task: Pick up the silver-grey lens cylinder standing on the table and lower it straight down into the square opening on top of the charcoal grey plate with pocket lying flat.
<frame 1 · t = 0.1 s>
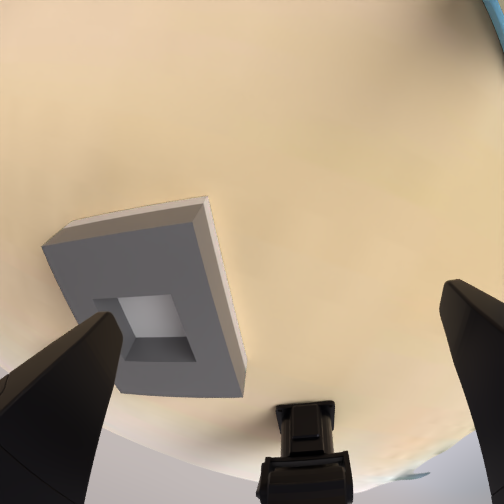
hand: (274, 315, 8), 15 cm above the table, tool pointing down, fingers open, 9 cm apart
grey plate with pocket: (161, 296, 27), on the table
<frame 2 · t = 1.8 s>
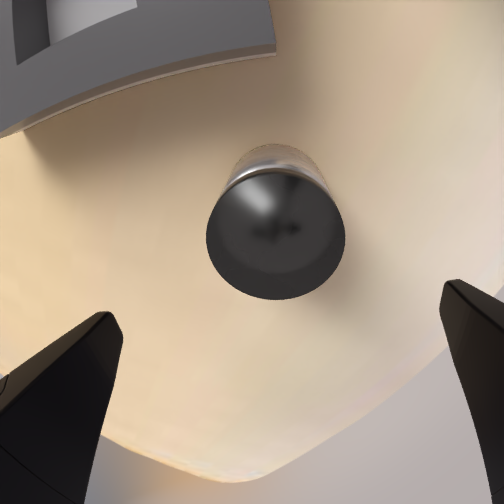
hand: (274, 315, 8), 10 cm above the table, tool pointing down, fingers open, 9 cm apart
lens: (276, 191, 17), on the table
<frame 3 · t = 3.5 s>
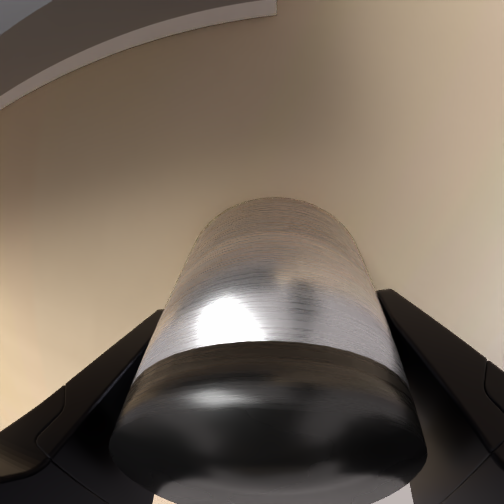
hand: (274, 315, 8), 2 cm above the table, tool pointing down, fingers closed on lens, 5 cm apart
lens: (275, 281, 9), on the table, touching gripper
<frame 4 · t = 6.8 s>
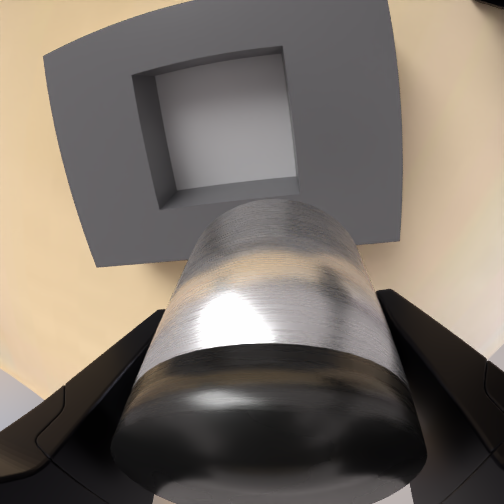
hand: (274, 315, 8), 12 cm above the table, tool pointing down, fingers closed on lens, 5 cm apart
grey plate with pocket: (229, 120, 17), on the table
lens: (275, 282, 9), point 10 cm above the table, touching gripper
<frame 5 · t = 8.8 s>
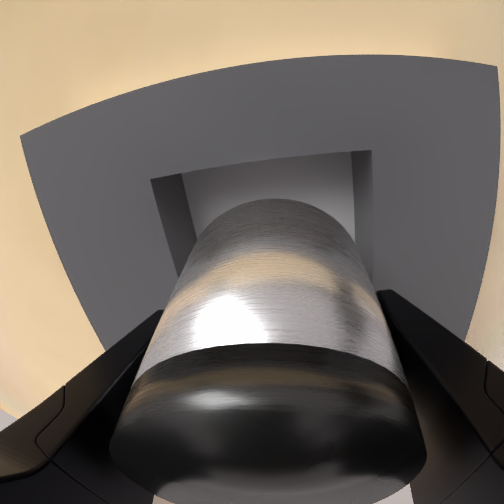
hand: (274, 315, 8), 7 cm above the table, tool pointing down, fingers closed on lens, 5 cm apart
grey plate with pocket: (274, 210, 14), on the table
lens: (275, 281, 9), point 6 cm above the table, touching gripper
when the fingers open (5 cm above the table, at t = 10.1 s): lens drops 2 cm, resting on grey plate with pocket.
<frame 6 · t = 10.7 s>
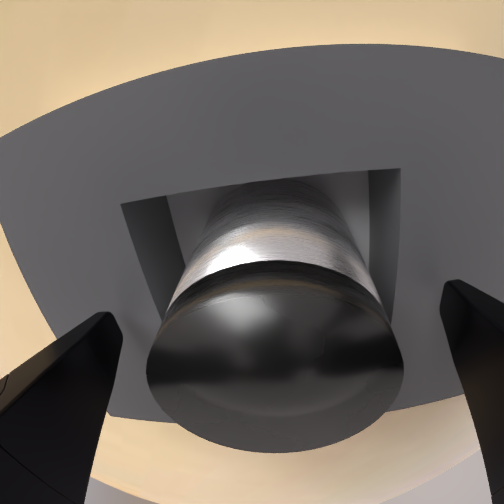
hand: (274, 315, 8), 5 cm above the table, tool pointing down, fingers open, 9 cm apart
grey plate with pocket: (275, 230, 12), on the table
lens: (276, 249, 11), point 2 cm above the table, touching grey plate with pocket
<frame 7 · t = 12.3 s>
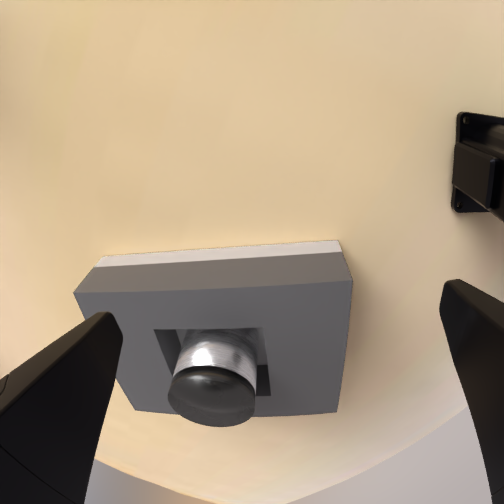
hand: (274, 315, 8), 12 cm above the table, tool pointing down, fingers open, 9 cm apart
grey plate with pocket: (224, 321, 23), on the table
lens: (222, 335, 22), point 2 cm above the table, touching grey plate with pocket
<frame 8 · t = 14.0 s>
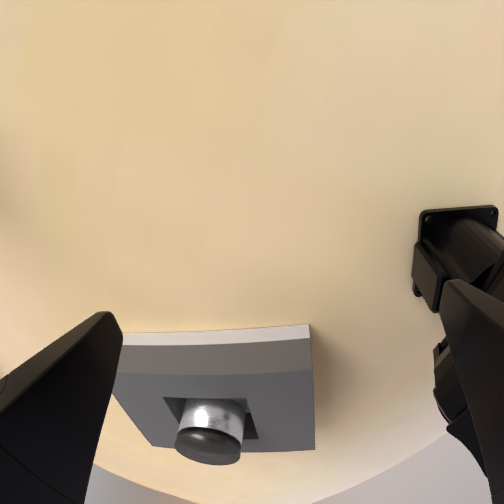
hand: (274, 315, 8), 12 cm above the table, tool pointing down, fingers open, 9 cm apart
grey plate with pocket: (220, 379, 27), on the table
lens: (218, 393, 26), point 2 cm above the table, touching grey plate with pocket
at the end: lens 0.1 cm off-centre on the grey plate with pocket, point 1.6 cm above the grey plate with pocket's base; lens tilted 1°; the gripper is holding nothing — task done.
